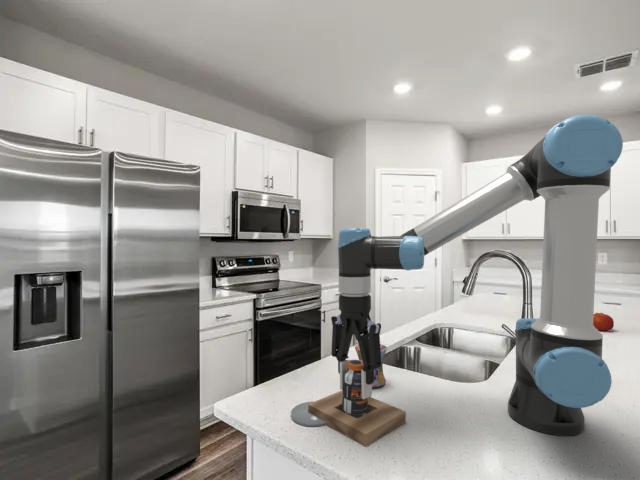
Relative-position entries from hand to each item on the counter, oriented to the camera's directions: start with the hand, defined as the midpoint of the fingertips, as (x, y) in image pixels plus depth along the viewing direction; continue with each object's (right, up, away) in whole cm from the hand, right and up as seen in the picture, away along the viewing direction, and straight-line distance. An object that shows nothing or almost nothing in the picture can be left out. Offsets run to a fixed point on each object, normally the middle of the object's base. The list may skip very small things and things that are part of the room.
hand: (355, 392), depth 84 cm
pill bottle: (0, -4, 0) cm, 4 cm away
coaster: (-10, -6, +2) cm, 12 cm away
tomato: (+119, -6, +79) cm, 143 cm away
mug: (+6, -6, +22) cm, 23 cm away
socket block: (0, -6, 0) cm, 6 cm away
